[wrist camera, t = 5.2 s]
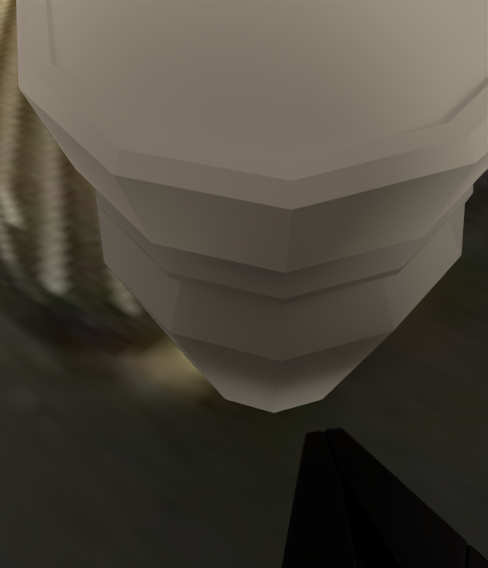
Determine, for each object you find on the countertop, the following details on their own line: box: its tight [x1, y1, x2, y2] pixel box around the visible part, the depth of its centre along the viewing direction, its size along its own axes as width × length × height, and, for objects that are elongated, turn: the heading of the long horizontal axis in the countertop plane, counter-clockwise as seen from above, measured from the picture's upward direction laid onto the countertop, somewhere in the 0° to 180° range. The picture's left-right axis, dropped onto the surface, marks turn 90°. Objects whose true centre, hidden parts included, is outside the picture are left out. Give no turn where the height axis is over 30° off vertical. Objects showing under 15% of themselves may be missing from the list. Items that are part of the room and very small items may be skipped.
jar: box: [16, 0, 488, 413], centre depth 14 cm, size 10×10×18 cm
